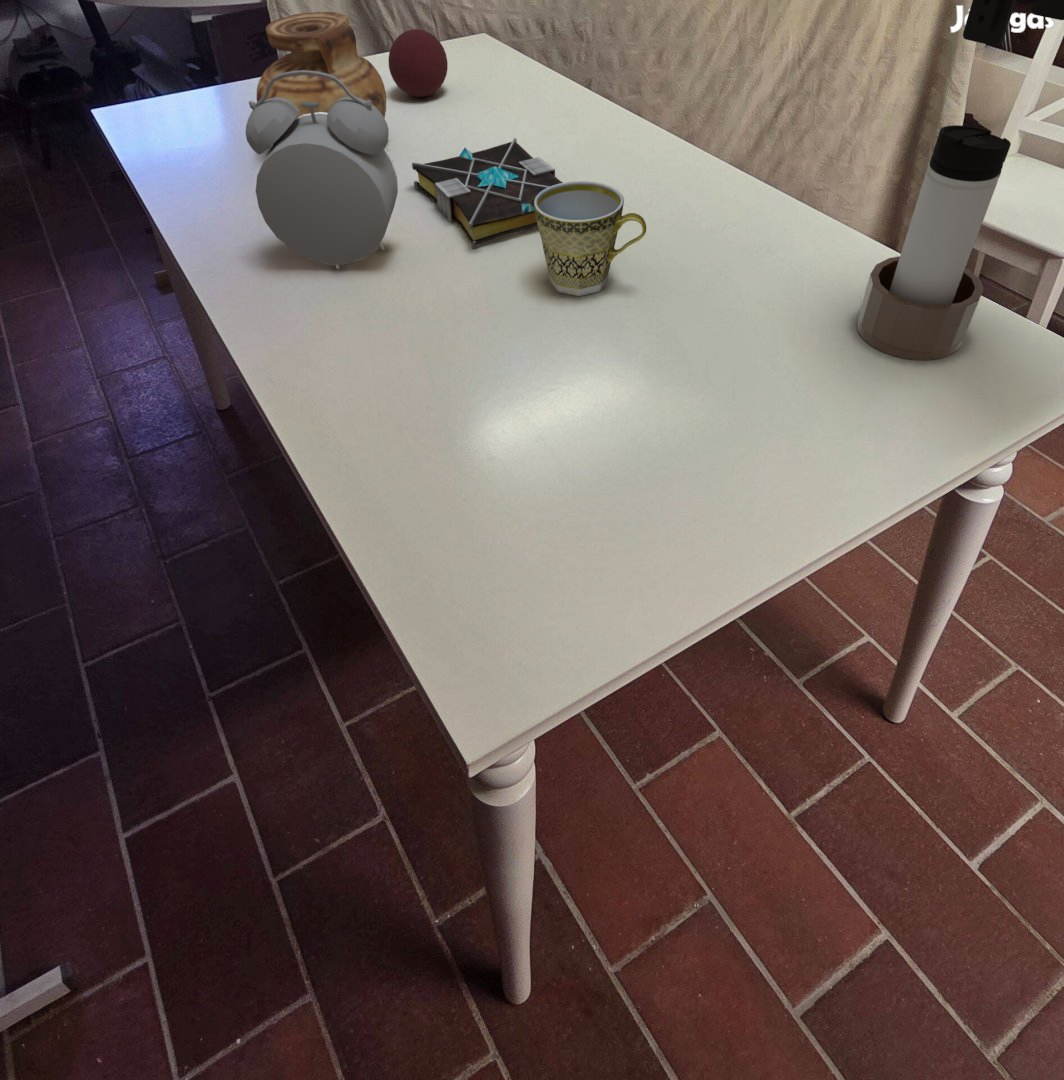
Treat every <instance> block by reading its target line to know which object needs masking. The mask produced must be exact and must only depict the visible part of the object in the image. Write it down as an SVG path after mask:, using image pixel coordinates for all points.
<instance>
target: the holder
mask: <svg viewBox="0 0 1064 1080" xmlns="http://www.w3.org/2000/svg"><path fill="white" fill-rule="evenodd" d="M899 258H900V255H898V256H893V257H889V258H888V257H887V258H886V259H884V260H882V261H880V262H879V263H877V264H875V266H874V267H873V269H872V270H871V272H870V274H869V277H868V281H867V284H866V287H865V291H864V294H863V299H862V301H861V306H860V309H859V313H858V319H857V323H856V327H857V331H858V333H859V335H860V337H861V338H862V339H863V340H864V342H866V343H867V344H868V345H870V346H871V347H873V348H874V349H876V350H877V351H880V352H882V353H885V354H887V355H889V356H892V357H896V358H901V359H905V360H911V361H912V360H913V361H933V360H938V359H942V358H945V357H948V356H950V355H953V354H954V353H955V352H957V351H958V349H959V348H960V347H961V346H962V344H963V341H964V339H965V336H966V334H967V332H968V329H969V327H970V324H971V322H972V320H973V317H974V315H975V312H976V309H977V307H978V305H979V302H980V300H981V297H982V294H983V292H984V291H985V290H984V289H985V288H984V286H983V284H982V282H981V280H980V277H978V276H977V275H976V274H974V272H972V271H971V270H970V269H969V268H967V267H966V268H965V270H964V273H963V276H962V278H961V281H960V284H959V286H958V289H957V292H956V294H955V297H954V300H953V302H952V304H949V305H924V304H920V303H916V302H911V301H907V300H904V299H902V298H900V297H898V296H896V295H894V294H891V293H890V292H889V291H890V287H891V284H892V281H893V278H894V274H895V271H896V268H897V265H898V262H899Z"/></svg>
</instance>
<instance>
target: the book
mask: <svg viewBox="0 0 1064 1080" xmlns="http://www.w3.org/2000/svg"><path fill="white" fill-rule="evenodd" d="M411 166H412V170H413V171H415V172H417V177H418V181H417V180H415V181H413V187H414V189H417V190H421V191H422V192H423V193H425V194H426V195H427V196H428V197H429V198H430V199H432V200H433V201H434V202H435V203H436V205H437V210H439V212H440V213H441V214H442V215H443V216H444V217H445V218H446V219H447V220H448V222H450V223H457V225H459V226H460V228H461V229H462V230H463V232H464V233H465V235H466V236H467V238H468V240H469V241H470V243H471V244H472V249H476V248H477V246H478V245H481V244H484V243H487V242H490V241H493V240H497V239H499V238H503V237H505V236H509V235H513V234H517V233H520V232H524V231H528V230H532V229H536V228H538V224H537V219H536V214H535V207H534V201H535V198H536V196H537V195H538V194H539V193H540V192H541V191H543V190H544V189H546V188H548V187H550V186H553V185H556V184H560V183H564V182H563V181H561V180H560V179H559V178H558V177H556V169H555V168H554V167H553V166H551V164H550V163H548V162H547V161H545V160H544V159H543V158H542V157H540V156H537V157H533V156H532V155H531V154H529V152H527V151H526V149H524V148H523V147H522V146H521V145H520V144H519V143H518V142H517V137H513V139H512V141H510V142H506V143H503V144H499V145H496V146H493V147H490V148H487V149H483V150H479V151H478V150H477V151H474V152H471V151H470V150H469V149H468V148H467V147H464V148H463V149H462V151H461V153H460V154H459V155H458V156H454V157H450V158H446V159H441V160H437V161H432V162H425V163H420V162H412V163H411Z"/></svg>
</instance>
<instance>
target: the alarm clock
mask: <svg viewBox="0 0 1064 1080" xmlns="http://www.w3.org/2000/svg"><path fill="white" fill-rule="evenodd" d="M298 75H309V76H317V77H323V78H327V79H330V80H333V81H334V82H336V83H337V84H338V85H339V86H340V87H341V88H343V90H344V91H345V92H346V94H347V95H348V96H349V97H343V98H340V99H338V100H337V101H336V102H335V103H334V104H333V105H332V106H331V107H330V108H329V111H328V113H325V112H317V113H314V110H313V108H319V102H302V103H301V106H302V107H303V108H309V109H310V114H304V115H302V116H300V117H298V118H296V117H297V115H298V113H299V111H300V110H299V109H298V108H297V107H296V105H295V104H294V103H292V102H291V101H289V100H287V99H285V98H280V97H275V98H270V99H267V100H266V98H267V96H268V95H269V92H270V88H271V86H272V85H273V83H274V82H275V81H277V80H279V79H281V78H285V77H291V76H298ZM248 105H249V107H250V109H251V110H252V111H251V112H250V114H249V117H248V118H247V121H246V125H245V139H246V141H247V143H248V145H249V146H250V148H251V149H252V151H254V152H255V154H256V155H261V154H263V153H264V152H266V151H267V150H268V149H269V151H268V153H267V154H266V156H265V158H264V159H263V161H262V164H261V165H260V168H259V170H258V172H257V174H256V184H255V194H256V195H255V196H256V201H257V206H258V209H259V211H260V214H261V215H262V218H263V220H264V222H265V224H266V225H267V227H269V229H270V230H271V232H272V233H273V234H274V236H275V237H276V238H277V239H278V240H279V241H280V242H282V243H283V244H284V245H285V246H286V247H287V248H288V249H289V250H291V251H293V252H294V253H297V254H298V255H300V256H302V257H303V258H305V259H308V260H311V261H314V262H317V263H318V264H319V263H320V264H324V265H325V264H327V265H333V266H335V268H336V269H337V270H339V269H340V268H341V265H350V264H354V263H356V262H359V261H361V260H363V259H366V258H367V257H368V256H370V255H371V254H372V253H374V252H375V251H376V250H377V249H378V247H379V249H381V250H382V251H384V250H385V249H386V248H385V245H384V244H383V242H382V241H383V239H384V238H385V235H386V232H387V229H388V226H389V223H390V221H391V217H392V214H393V212H394V209H395V206H396V202H397V197H398V193H399V183H398V174H397V171H396V167H395V164H394V162H393V159H392V157H391V155H390V154H389V152H388V150H387V149H386V147H387V144H388V143H389V142H388V141H389V125H388V122H387V121H386V118H385V119H384V117H383V115H382V114H381V112H380V111H379V110H378V109H377V108H376V107H375V106H373V105H372V102H371V100H368V101H366V100H364V99H361V98H357V97H355V96H354V95H353V94H352V93H351V92H350V91H349V90H348V89H347V87H346V86H345V84H344V83H342V82H341V81H340V80H339V79H338V78H336V77H335V76H332V75H329V74H326V73H322V72H316V71H307V70H299V71H291V72H286V73H281V74H279V75H277V76H274V77H273V78H272V79H271V81H270V82H269V84H268V85H267V88H266V93H265V95H264V96H263V98H262V99H260V100H259V101H258V102H257V101H256V102H255V101H252V100H249V101H248ZM295 118H296V119H295Z"/></svg>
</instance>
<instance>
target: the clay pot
mask: <svg viewBox="0 0 1064 1080" xmlns="http://www.w3.org/2000/svg"><path fill="white" fill-rule="evenodd" d="M354 30H355V29H353V28H352V26H350V19H349V17H348V16H346V15H345V14H342V13H340V12H335V11H315V12H302V13H295V14H292V15H289V16H283V17H281V18H278V19H276V20H273V21H271V22H269V23H268V24H267V25H266V27H265V33H266V37H267V40H268V45H269V46H271V47H272V48H274V49H276V50H278V51H281V52H282V51H283V52H284V53H286V52H290V53H286V54H284V55H282V56H280V57H279V59H277V60H275V61H274V62H273V63H271V64H270V65H269V66H268V67H267V68H266V69H265V70H264V71H263V73H262V74H261V76H260V78H259V80H258V83H257V85H256V86H257V87H256V103H257V102H258V101H259V100H260V99H262V98H263V96H264V95H265V93H266V88H267V85H268V84H269V82H270V81H271V79H272V78H273V77H274V76H277V75H279V74H281V73H286V72H291V71H299V70H307V71H316V72H322V73H326V74H329V75H332V76H335V77H336V78H338V79H339V80H340V81H341V82H342V83H344V84H345V86H346V87H347V89H348V90H349V91H350V92H351V93H352V94H353V95H354V96H355V97H357V98H361V99H364V100H366V101H368V100H371V102H372V105H373V106H375V107H376V108H377V109H378V110H379V111H380V112H381V114H382V115H383V117H384V119H385V120H386V113H387V92H386V88H385V83H384V81H383V78H382V76H381V74H380V73H379V71H378V70H377V68H376V67H375V66H374V65H373V64H372V63H371V62H370V61H369V59H367V58H365V57H364V56H362V55H361V54H358V51H357V49H358V48H357V38H356V35H355V31H354ZM275 97H280V98H285V99H287V100H289V101H291V102H292V103H294V104H295V105H296V107H297V108H298V109H299V110H300V111H299V113H298V115H297V117H296V118H298V117H300V116H302V115H304V114H310V109H309V108H303V107H302V106H301V103H302V102H319V108H313V110H314V113H317V112H325V113H328V111H329V108H330V107H331V106H332V105H333V104H334V103H335V102H336V101H337V100H338V99H340V98H343V97H349V96H348V95H347V94H346V92H345V91H344V90H343V88H341V87H340V86H339V85H338V84H337V83H336V82H334V81H333V80H330V79H327V78H323V77H317V76H309V75H298V76H291V77H285V78H281V79H279V80H277V81H275V82H274V83H273V85H272V86H271V88H270V92H269V95H268V96H267V98H266V100H267V99H270V98H275ZM296 118H295V119H296Z"/></svg>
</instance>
